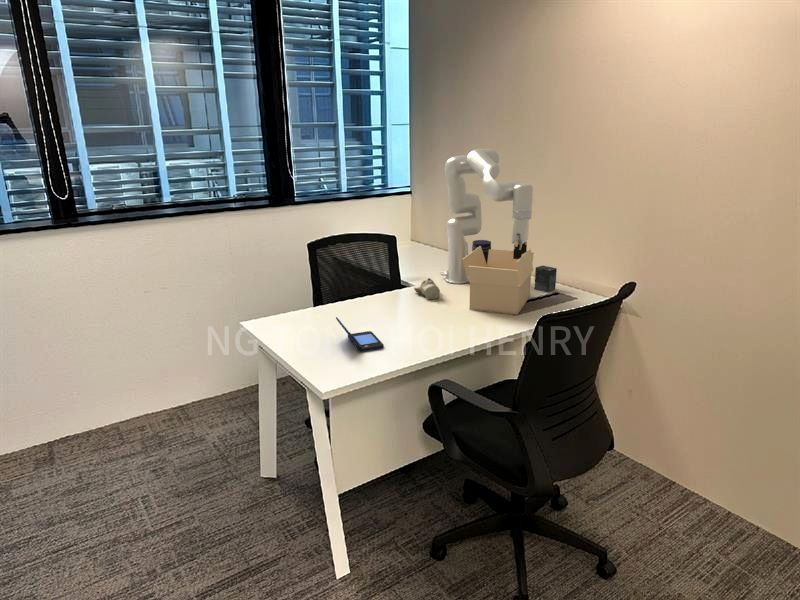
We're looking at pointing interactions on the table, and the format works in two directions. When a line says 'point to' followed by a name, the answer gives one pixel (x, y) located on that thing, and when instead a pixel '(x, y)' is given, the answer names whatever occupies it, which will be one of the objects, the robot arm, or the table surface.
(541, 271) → the box
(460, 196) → the robot arm
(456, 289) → the table surface
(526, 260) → the flap
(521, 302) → the carton
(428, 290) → the ceramic sculpture
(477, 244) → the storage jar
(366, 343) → the handheld device with antenna
